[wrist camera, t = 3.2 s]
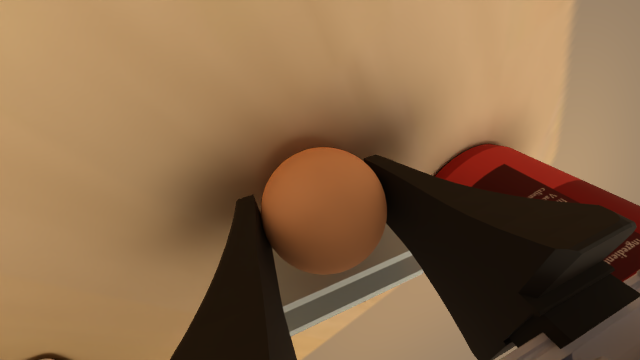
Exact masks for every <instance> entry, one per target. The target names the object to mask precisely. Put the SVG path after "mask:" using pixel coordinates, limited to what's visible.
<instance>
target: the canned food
mask: <svg viewBox="0 0 640 360" xmlns="http://www.w3.org/2000/svg"><path fill="white" fill-rule="evenodd" d="M435 177H438V178H441V179H444V180H448V181H451V182H454V183H458V184H462V185H466V186H470V187H474V188H478V189H482V190H487V191H492V192H497V193H502V194H508V195H513V196H520V197H526V198H534V199H541V200H549V201H559V202H570V203H582V204H594V205H600V206H603V207H605V208H607V209H610V210H612V211H614V212H616V213H618V214H620V215H622V216H624V217H626V218H628V219H630V220H632V221H634V222H635V223H636V226H637V228H636V229H635V231H634V232H633V233H632V234H631V235H630V236H629V237H628V238H627V239H626V240H625V241H624V242H623V243H622V244H620V245H619V246H618V247H617V248H616V249H615V250H614V251H613V252H611V253H610V254H609V255H608V256H607V257H606V258H605V259H603V261H605V262H606V263H608V264H610V265H611V266H613V267H614V269H615V271H613V272H612V273H611V274H612V275H613V276H615V277H616V278H618V279H619V280H621V281H622V282H624V281H625V280H627V279H628V278H630V277H632V276H633V275H635V274H636V273H637V271H638V270H640V206H638V205H636V204H634V203H632V202H629V201H627V200H625V199H623V198H621V197H618V196H616V195H614V194H612V193H609V192H607V191H605V190H603V189H601V188H598V187H596V186H594V185H591V184H589V183H587V182H585V181H583V180H580V179H578V178H576V177H574V176H571V175H569V174H567V173H565V172H563V171H560V170H558V169H556V168H554V167H552V166H549V165H547V164H545V163H543V162H541V161H538V160H536V159H534V158H532V157H529V156H527V155H525V154H523V153H521V152H518V151H516V150H514V149H512V148H509V147H504V146H498V145H492V144H485V145H479V146H476V147H473V148H471V149H469V150H467V151H465V152H463V153H461V154H460V155H458V156H457V157H455V158H454V159H452V160H451V161H450V162H449V163H448V164H446V165H445V166H444V167H443V168H442V169H441V170H440V171H439V172H438V173H437V174H436V176H435Z"/></svg>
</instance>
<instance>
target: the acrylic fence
mask: <svg viewBox="0 0 640 360" xmlns="http://www.w3.org/2000/svg"><path fill="white" fill-rule="evenodd" d="M272 251H273V256H274V262H275V268H276V273H277V279H278V285H279V291H280V296H281V301H282V306H283V311H284V314H285V318H286V322H287V325H288V329H289V333H290V336H293V335H295V334H297V333H299V332H301V331H304V330H306V329H308V328H310V327H312V326H314V325H316V324H318V323H320V322H322V321H325V320H327V319H329V318H331V317H333V316H335V315H337V314H339V313H341V312H343V311H345V310H348V309H350V308H352V307H354V306H356V305H358V304H360V303H362V302H364V301H366V300H369V299H371V298H373V297H375V296H377V295H379V294H381V293H383V292H385V291H387V290H389V289H392V288H394V287H396V286H398V285H400V284H402V283H404V282H406V281H408V280H410V279H413V278H415V277H417V276H419V275H421V274H423V270H422V268H421V267H420V265H419V264H418V262H417V261H416V260H415V258H414V257H413V255H412V254H411V252H410V251H409V250H408V249H407V247H406V246H405V245H404V244H403V242H402V241H401V240H400V239H399V238H398V237H397V235H396V234H395V233H394V232H393V231H392V230H391V228H390V227H389V226H388V225H387V224H386V225H385V229H384V232H383V235H382V237H381V239H380V242H379V243H378V245H377V246H376V248H375V249H374V251H373V252H372V253H371V254H370V255H369V256H368V257H367V258H366V259H365V260H364V261H362V262H361V263H360V264H358V265H357V266H355V267H353V268H351V269H349V270H347V271H344V272H341V273H336V274H328V275H320V274H312V273H308V272H305V271H302V270H299V269H297V268H295V267H293V266H292V265H290V264H288V263H287V262H286V261H285V260H283V259H282V258H281V257H280V256H279V255H278V254H277V253H276V252H275V250H274V249H273V248H272Z"/></svg>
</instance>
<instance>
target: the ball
mask: <svg viewBox="0 0 640 360" xmlns="http://www.w3.org/2000/svg"><path fill="white" fill-rule="evenodd" d="M261 220H262V226H263V229H264V232H265V235H266V237H267V239H268V241H269V243H270V245H271V246H272V248H273V249H274V250H275V252H276V253H277V254H278V255H279V256H280V257H281V258H282V259H283V260H285V261H286V262H287V263H288V264H290V265H292V266H293V267H295V268H297V269H299V270H302V271H305V272H308V273H312V274H320V275H328V274H336V273H341V272H344V271H347V270H349V269H351V268H353V267H355V266H357V265H358V264H360V263H361V262H362V261H364V260H365V259H366V258H367V257H368V256H369V255H370V254H371V253H372V252H373V251H374V249H375V248H376V246H377V245H378V243H379V242H380V239H381V237H382V235H383V232H384V229H385V225H386V220H387V203H386V197H385V193H384V190H383V188H382V185H381V183H380V181H379V179H378V177H377V176H376V174H375V173H374V172H373V170H372V169H371V168H370V167H369V166H368V165H367V164H366V163H365V162H364V161H362V160H361V159H360V158H358V157H357V156H355V155H353V154H351V153H349V152H347V151H344V150H340V149H337V148H330V147H318V148H311V149H307V150H304V151H301V152H299V153H297V154H295V155H293V156H291V157H290V158H288V159H286V160H285V161H284V162H283V163H282V164H281V165H280V166H279V167H278V168H277V169H276V170H275V171H274V172H273V174H272V175H271V177H270V179H269V180H268V182H267V184H266V187H265V189H264V192H263V196H262V200H261Z"/></svg>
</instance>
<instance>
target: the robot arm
mask: <svg viewBox="0 0 640 360" xmlns="http://www.w3.org/2000/svg"><path fill="white" fill-rule="evenodd" d="M364 162H365V163H366V164H367V165H368V166H369V167H370V168H371V169H372V170H373V172H374V173H375V174H376V176H377V177H378V179H379V181H380V183H381V185H382V188H383V190H384V193H385V197H386V203H387V220H386V224H387V225H388V226H389V227H390V228H391V230H392V231H393V232H394V233H395V234H396V235H397V237H398V238H399V239H400V240H401V241H402V242H403V244H404V245H405V246H406V247H407V249H408V250H409V251H410V252H411V254H412V255H413V257H414V258H415V260H416V261H417V262H418V264H419V265H420V267H421V268H422V270H423V271H424V273H425V274H426V276H427V277H428V279H429V280H430V282H431V283H432V285H433V286H434V288H435V289H436V291H437V293H438V294H439V296H440V298H441V299H442V301H443V302H444V304H445V305H446V307H447V309H448V311H449V312H450V314H451V316H452V317H453V319H454V321H455V323H456V324H457V326H458V327H459V330H460V331H461V333H462V334H463V337H464V338H465V340H466V342H467V344H468V346H469V348H470V349H471V351H472V353H473V354H474V355H475V357H476V358H477V359H478V360H493V359H495V358H497V357H498V356H499V355H502V354H503V353H505V352H506V351H508V350H510V349H511V348H513V347H514V346H517V347H518V348H517V349H516V350H514V351H513V352H511V353H509V354H508V355H506V356H505V357H503V358H501V359H500V360H640V270H638V271H637V273H636V274H635V275H633V276H632V277H630V278H628V279H627V280H625V281H624V282H622V281H621V280H619V279H618V278H616V277H615V276H613V275H612V274H611V273H612V272H613V271H615V269H614V267H613V266H611V265H610V264H608V263H606V262H605V261H603V259H605V258H606V257H607V256H608V255H609V254H610V253H611V252H613V251H614V250H615V249H616V248H617V247H618V246H619V245H620V244H622V243H623V242H624V241H625V240H626V239H627V238H628V237H629V236H630V235H631V234H632V233H633V232H634V231H635V229H636V228H637V226H636V223H635V222H634V221H632V220H630V219H628V218H626V217H624V216H622V215H620V214H618V213H616V212H614V211H612V210H610V209H607V208H605V207H603V206H600V205H594V204H582V203H570V202H559V201H549V200H541V199H534V198H526V197H520V196H513V195H508V194H502V193H497V192H492V191H487V190H482V189H478V188H474V187H470V186H466V185H462V184H458V183H454V182H451V181H448V180H444V179H441V178H438V177H435V176H432V175H429V174H426V173H423V172H421V171H418V170H415V169H413V168H410V167H407V166H405V165H402V164H400V163H397V162H395V161H392V160H389V159H387V158H384V157H381V156H378V155H373V156H370V157H367V158H364ZM40 360H54V359H40ZM170 360H297V358H296V355H295V351H294V347H293V344H292V340H291V336H290V333H289V329H288V325H287V322H286V318H285V314H284V311H283V306H282V301H281V296H280V291H279V285H278V279H277V273H276V268H275V262H274V256H273V251H272V246H271V245H270V243H269V241H268V239H267V237H266V235H265V232H264V229H263V226H262V220H261V213H260V211H259V208H258V206H257V203H256V201H255V198H254V195H250V196H247V197H244V198H241V199H238V200H237V202H236V208H235V213H234V218H233V222H232V226H231V229H230V233H229V236H228V240H227V243H226V246H225V249H224V252H223V254H222V257H221V260H220V263H219V265H218V268H217V270H216V273H215V275H214V278H213V280H212V282H211V284H210V287H209V289H208V291H207V293H206V295H205V297H204V299H203V301H202V303H201V305H200V307H199V309H198V311H197V313H196V315H195V317H194V319H193V321H192V323H191V324H190V326H189V328H188V330H187V332H186V333H185V335H184V337H183V339H182V340H181V342H180V344H179V345H178V347H177V349H176V350H175V352H174V354H173V355H172V357H171V359H170Z"/></svg>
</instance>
